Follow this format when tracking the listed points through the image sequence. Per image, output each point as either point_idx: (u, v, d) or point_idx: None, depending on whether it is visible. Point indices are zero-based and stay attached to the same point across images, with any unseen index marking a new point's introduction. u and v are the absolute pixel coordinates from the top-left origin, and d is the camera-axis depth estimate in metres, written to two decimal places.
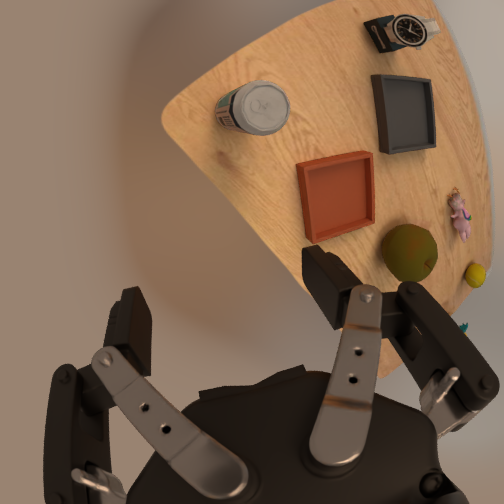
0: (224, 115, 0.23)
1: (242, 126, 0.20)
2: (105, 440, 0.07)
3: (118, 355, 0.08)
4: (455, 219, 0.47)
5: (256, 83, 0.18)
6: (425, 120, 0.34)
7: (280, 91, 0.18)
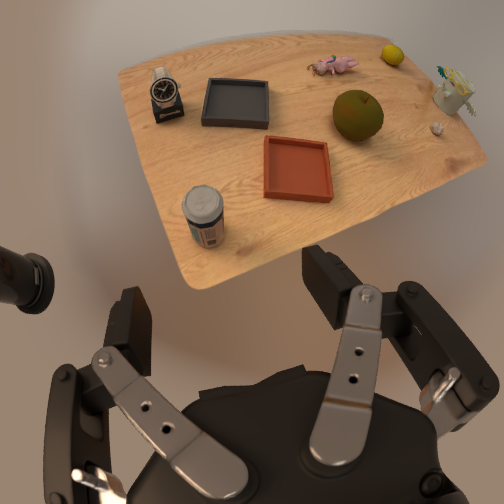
0: (204, 235, 0.34)
1: (211, 219, 0.30)
2: (105, 440, 0.07)
3: (118, 355, 0.08)
4: (336, 70, 0.53)
5: (183, 203, 0.30)
6: (244, 87, 0.48)
7: (193, 188, 0.30)
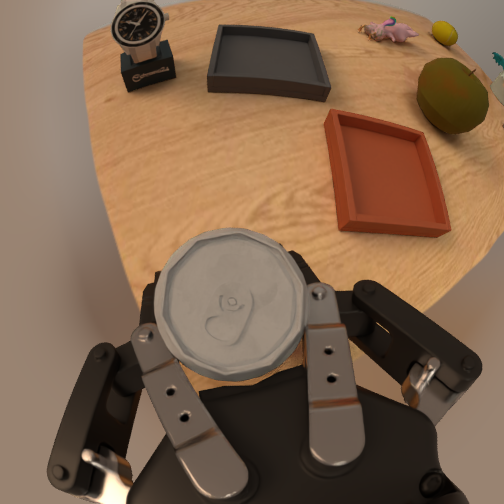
0: None
1: (272, 369, 0.07)
2: (128, 423, 0.07)
3: None
4: (395, 37, 0.30)
5: (159, 307, 0.07)
6: (277, 40, 0.26)
7: (193, 247, 0.07)
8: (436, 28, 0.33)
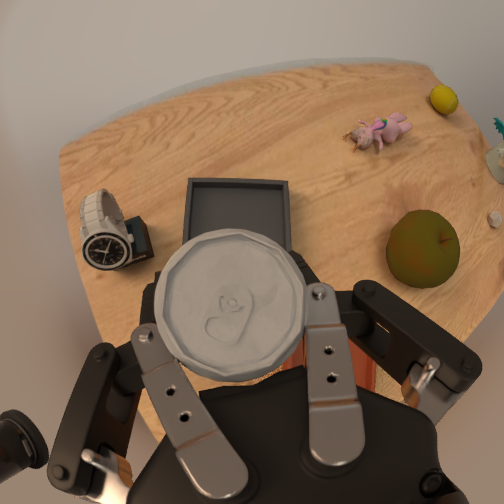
0: None
1: (272, 369, 0.07)
2: (128, 423, 0.07)
3: None
4: (384, 138, 0.38)
5: (159, 308, 0.07)
6: (249, 192, 0.33)
7: (193, 248, 0.07)
8: (435, 96, 0.41)
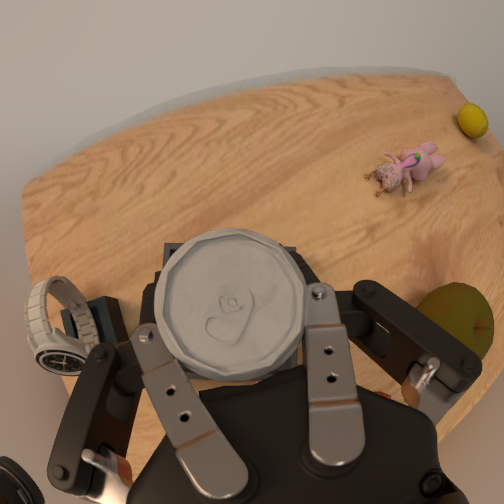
0: None
1: (272, 369, 0.07)
2: (128, 423, 0.07)
3: None
4: (413, 176, 0.30)
5: (159, 307, 0.07)
6: None
7: (193, 248, 0.07)
8: (464, 117, 0.33)
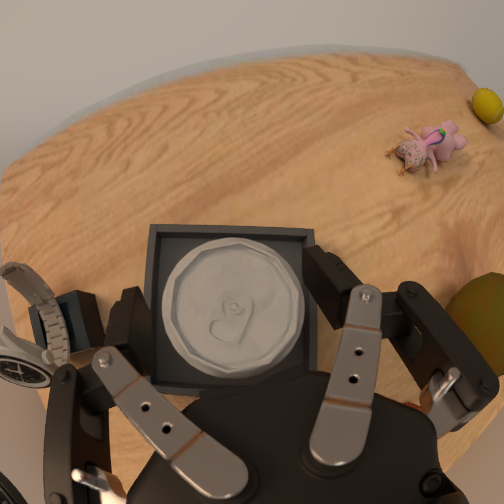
0: None
1: (270, 367, 0.08)
2: (105, 440, 0.07)
3: (118, 355, 0.08)
4: (436, 156, 0.25)
5: (166, 311, 0.08)
6: None
7: (198, 257, 0.08)
8: (479, 101, 0.28)
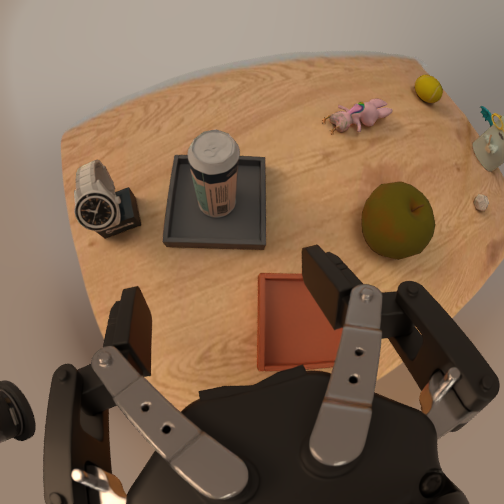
0: (214, 197, 0.28)
1: (225, 169, 0.23)
2: (105, 440, 0.07)
3: (118, 355, 0.08)
4: (363, 122, 0.40)
5: (190, 150, 0.23)
6: None
7: (202, 134, 0.23)
8: (419, 85, 0.43)
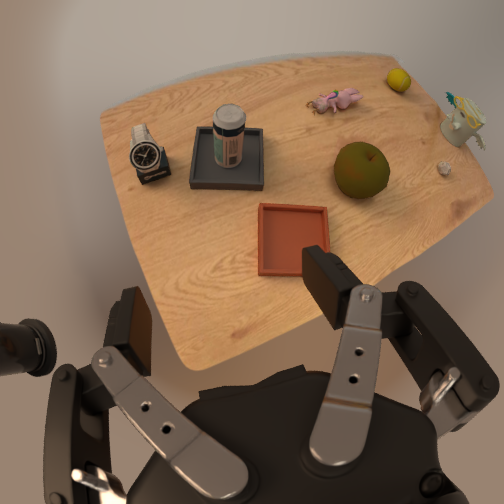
0: (228, 148, 0.39)
1: (237, 126, 0.35)
2: (105, 440, 0.07)
3: (118, 355, 0.08)
4: (338, 106, 0.52)
5: (214, 115, 0.35)
6: None
7: (222, 106, 0.35)
8: (390, 77, 0.55)
